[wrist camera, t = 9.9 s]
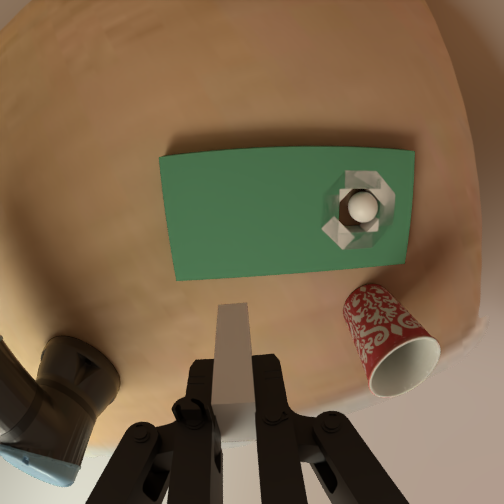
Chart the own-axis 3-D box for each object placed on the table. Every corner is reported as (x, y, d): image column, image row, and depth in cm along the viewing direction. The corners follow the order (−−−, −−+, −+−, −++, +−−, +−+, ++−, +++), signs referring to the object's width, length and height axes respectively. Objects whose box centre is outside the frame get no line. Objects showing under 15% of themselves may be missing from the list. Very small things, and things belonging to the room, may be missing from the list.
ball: (381, 226, 31) (370, 216, 34) (383, 195, 29) (371, 188, 32) (353, 227, 31) (343, 217, 34) (354, 195, 29) (344, 189, 32)
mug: (328, 293, 38) (363, 363, 25) (388, 266, 37) (441, 323, 24) (348, 355, 42) (376, 421, 30) (399, 331, 41) (438, 390, 29)
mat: (180, 271, 36) (176, 281, 33) (164, 155, 30) (158, 157, 28) (396, 255, 36) (404, 263, 34) (404, 149, 31) (414, 151, 28)
